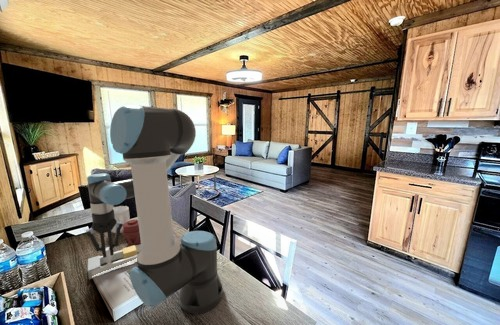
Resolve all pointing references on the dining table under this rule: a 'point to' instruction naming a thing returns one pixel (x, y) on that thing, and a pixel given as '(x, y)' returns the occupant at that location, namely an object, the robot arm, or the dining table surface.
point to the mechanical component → (131, 232)
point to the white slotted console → (98, 260)
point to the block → (129, 251)
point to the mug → (121, 216)
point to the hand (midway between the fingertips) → (109, 262)
